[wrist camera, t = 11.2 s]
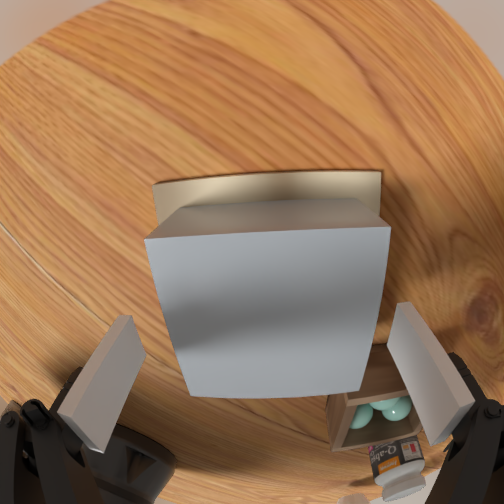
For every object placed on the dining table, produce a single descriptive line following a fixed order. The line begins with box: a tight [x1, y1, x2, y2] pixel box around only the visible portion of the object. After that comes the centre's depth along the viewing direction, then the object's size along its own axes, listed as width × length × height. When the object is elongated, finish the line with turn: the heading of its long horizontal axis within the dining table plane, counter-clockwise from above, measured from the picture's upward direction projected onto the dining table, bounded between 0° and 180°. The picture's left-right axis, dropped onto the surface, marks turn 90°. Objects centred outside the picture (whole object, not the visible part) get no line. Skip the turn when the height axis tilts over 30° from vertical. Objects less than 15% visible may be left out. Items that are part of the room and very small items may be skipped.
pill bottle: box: [368, 435, 426, 502], centre depth 20 cm, size 6×6×10 cm
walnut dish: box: [325, 344, 423, 452], centre depth 19 cm, size 9×9×5 cm
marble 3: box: [381, 395, 412, 421], centre depth 20 cm, size 3×3×3 cm
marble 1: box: [349, 403, 373, 429], centre depth 20 cm, size 3×3×3 cm
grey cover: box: [144, 198, 391, 398], centre depth 15 cm, size 10×10×5 cm
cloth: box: [152, 170, 381, 225], centre depth 17 cm, size 13×13×1 cm
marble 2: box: [369, 397, 400, 410], centre depth 19 cm, size 3×3×3 cm
